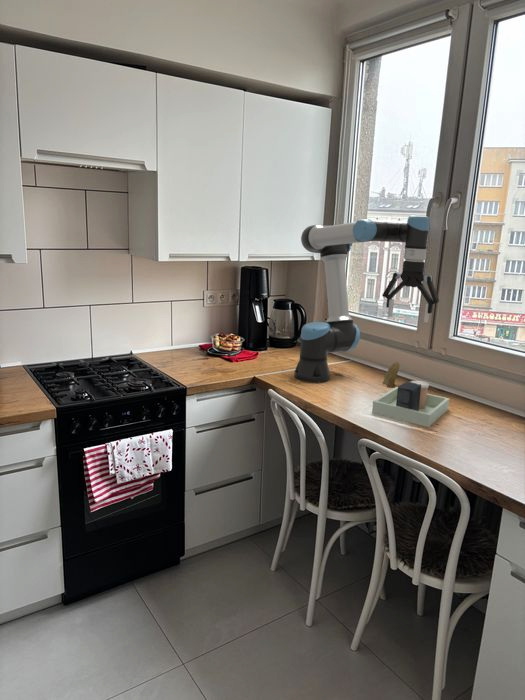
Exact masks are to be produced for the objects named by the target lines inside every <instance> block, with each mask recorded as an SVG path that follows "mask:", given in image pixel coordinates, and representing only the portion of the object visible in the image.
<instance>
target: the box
mask: <svg viewBox="0 0 525 700" xmlns="http://www.w3.org/2000/svg"><path fill="white" fill-rule="evenodd" d="M397 387H398V392H397V402H396V406H399V407H403V408H407V409H411V410H416V411H419V402H420V392H421V384H416V383H412V382H411V381H405V382H404V383H402V384H399V385H398V386H397Z"/></svg>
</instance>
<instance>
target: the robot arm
mask: <svg viewBox="0 0 525 700" xmlns="http://www.w3.org/2000/svg"><path fill="white" fill-rule="evenodd" d="M430 220H431V219H430V217H429V216H425V215H409V216H408V217H407V220H406V221H404V220H403V221H402V220H396V219H395V220H386V219H385V220H383V219H370V218H363V219H362V218H361V219H358V220H357V221H354V222H346V223H341V224H334V225H330V224H327V225H323V224H322V225H319V224H313V225H309V226H307V227H306V228H305V229H303V231H302V234H301V237H300V241H301V245H302V247H303V248H304V249H305V250H306V251H308V252H309V253H313V254H320V255H319V256H320V260H321V261H323V263H324V272H325V274H324V275H325V284H326V294H327V295H326V299H327V306H328V307H327V308H328V318H327V320H326V321H325V322H324V321H318V322H317V321H314V322H313V321H311V322H308V323H305V324H304V325H303V326H302V327H301V333H300V345H299V346H300V347H299V358H298V362H297V363H296V364H297V365H296V367H295V369H294V374H293V375H294V376H293V377H294V378H295V379H296V380H297V381H301V382H303V383H312V384H314V383H315V384H319V383H326V382H328V381H330V379H331V372H330V368H329V364H328V354H329V353H339V352H349V351H352V350H355V348H356V347H357V345H358V344H359V342H360V337H361V331H360V329H359V327H358V325H357V324H355V323H354V319H353V318H352V317H351V316H350V312H349V310H350V309H349V300H348V299H349V298H348V288H347V287H348V285H347V277H346V275H347V274H346V262H345V260H346V259H347V257H348V253H349V252H350V251H351V249H352V246H353V244H355V243H357V244H358V243H367V242H386V243H388V242H389V243H391V242H392V243H404V251H403V259H404V260H403V262H402V271H401V273H399V272H393V273H392V277H391V278H392V279H391V280H390V281H389V283H388V285H387V287H386V288H385V289H384V291H383V292H382V295H381V296H382V297H383V298H385V299H386V308H387V310H388V311H387V318H392V317H393V313H394V305H395V303H394V302H395V298H393V297H395V296H396V295H397V294H398V293H399V292H400V291H401V290H402V289H403V288H404V287H407V288H409V287H411V288H417V289H418V290H419V291H420V293H421V295H422V296H423V297H424V299H425V301H426V302H427V303H426V304H425V309H424V318H423V323H428V322H429V319H430V314H432V313H433V309H434V308H433V306H434V305H435V304H438V303H440V299H439V296H438V294H437V291H436V288H435V286H434V281H433V276H432V275H428V276H427V275H426V276H425V265H426V262H425V260H426V257H427V248H428V239H429V233H430V222H431V221H430ZM399 279H401V282H400V283H399V284H397V286H396V287H395V288H394V289H393V287H394V286H395V285H396V283H397V282H398V280H399ZM424 281H425V282H426V284H427V288H428V290H429V292H428V290H427V289H426V287H425V284H423V282H424ZM392 289H393V290H392ZM429 293H430V294H429Z"/></svg>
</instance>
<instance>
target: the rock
mask: <svg viewBox="0 0 525 700" xmlns="http://www.w3.org/2000/svg"><path fill="white" fill-rule="evenodd" d="M400 365H401V364H400V363H399V362H398V361H395V362H393V363H392V364H391V365H390V367H389V368H388V370H387V371H386V372H385V374H384V378H383V381H382V384H383V385H385V386H386V388H390V389H391V388H392V389H394V384H395V382H396V379H397V377H398V372H399V369H400Z"/></svg>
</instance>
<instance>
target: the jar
mask: <svg viewBox="0 0 525 700" xmlns="http://www.w3.org/2000/svg"><path fill="white" fill-rule="evenodd" d="M410 382H412V383H416V384H421V392H420V402H419V409H424V408H425V407H426V399H427V394H428V390H429V389H428V388H429V387H430V384H429V383H428V382H427V381H422V380H411V381H410Z"/></svg>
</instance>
